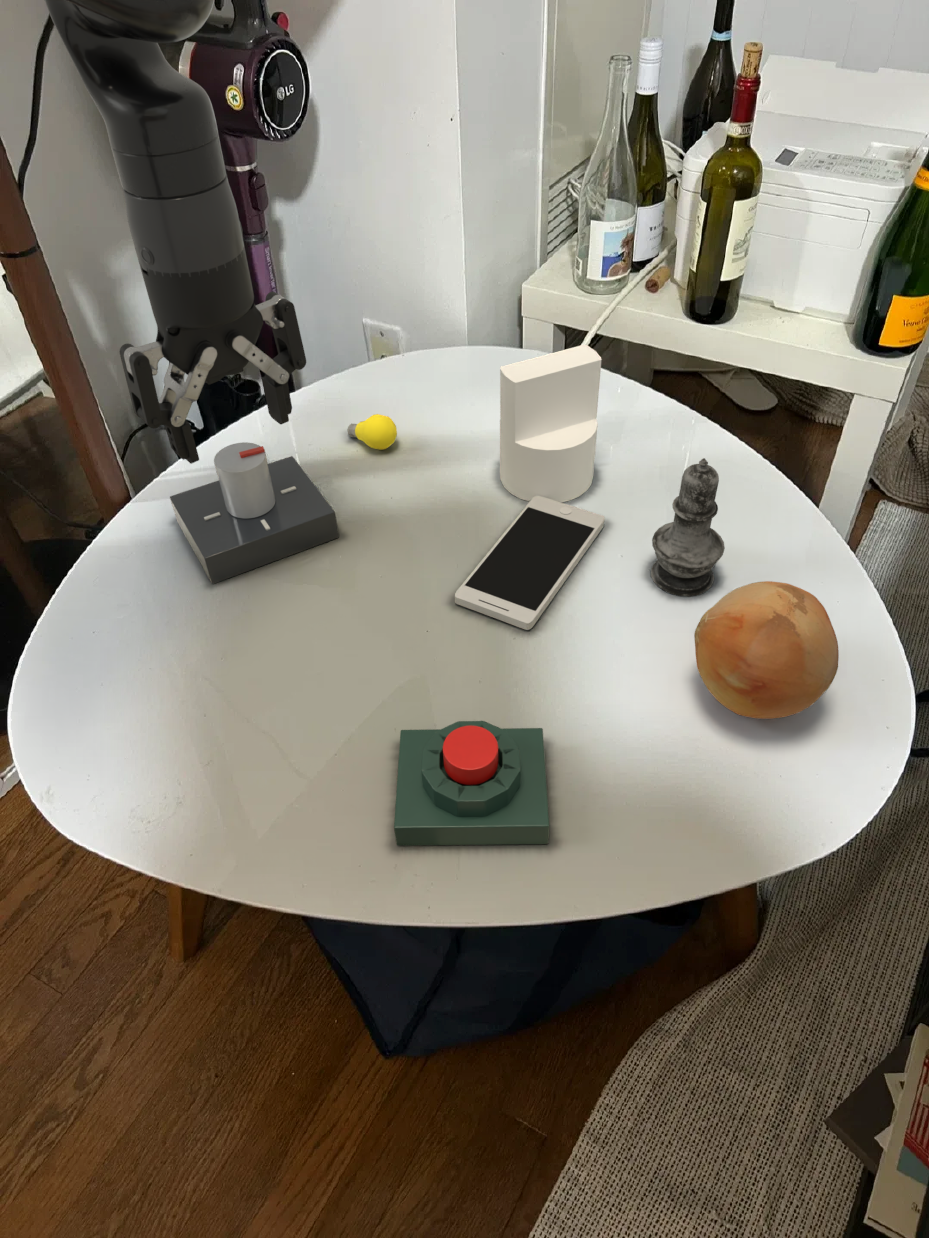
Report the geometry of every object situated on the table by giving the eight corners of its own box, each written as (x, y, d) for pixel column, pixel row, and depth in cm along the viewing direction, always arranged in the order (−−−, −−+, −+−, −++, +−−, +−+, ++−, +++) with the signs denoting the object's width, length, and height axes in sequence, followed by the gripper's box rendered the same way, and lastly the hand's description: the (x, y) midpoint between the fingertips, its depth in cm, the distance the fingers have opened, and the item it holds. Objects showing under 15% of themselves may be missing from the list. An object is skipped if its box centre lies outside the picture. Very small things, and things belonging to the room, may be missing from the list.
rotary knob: (232, 524, 80) (219, 474, 77) (221, 496, 83) (207, 447, 79) (281, 510, 81) (271, 460, 78) (268, 483, 84) (257, 434, 81)
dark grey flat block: (212, 584, 79) (203, 557, 77) (177, 522, 86) (168, 494, 83) (339, 537, 83) (335, 510, 81) (297, 481, 90) (292, 454, 87)
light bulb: (393, 457, 92) (375, 432, 89) (349, 454, 95) (331, 430, 93) (408, 432, 93) (392, 407, 90) (365, 430, 97) (348, 405, 94)
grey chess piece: (643, 593, 77) (661, 476, 69) (650, 548, 81) (668, 432, 73) (715, 603, 76) (742, 486, 68) (719, 557, 80) (745, 441, 72)
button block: (396, 846, 61) (391, 812, 58) (402, 748, 66) (398, 713, 64) (548, 844, 61) (550, 810, 58) (541, 746, 66) (543, 711, 63)
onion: (687, 638, 73) (707, 542, 66) (817, 656, 72) (852, 559, 65) (680, 733, 67) (702, 638, 60) (823, 755, 65) (863, 660, 58)
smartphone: (605, 523, 84) (606, 515, 83) (529, 631, 74) (529, 623, 73) (534, 501, 86) (535, 493, 85) (452, 603, 77) (452, 595, 76)
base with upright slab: (564, 439, 93) (570, 329, 85) (610, 487, 87) (622, 374, 79) (484, 463, 91) (482, 352, 82) (526, 514, 85) (528, 400, 76)
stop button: (443, 785, 60) (442, 770, 58) (444, 741, 62) (443, 725, 61) (498, 785, 60) (498, 769, 58) (497, 740, 62) (497, 724, 61)
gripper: (250, 205, 71) (284, 391, 83) (74, 259, 65) (137, 452, 76) (302, 234, 67) (331, 425, 78) (119, 294, 61) (179, 493, 72)
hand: (235, 438), depth 77 cm, fingers open, 8 cm apart
